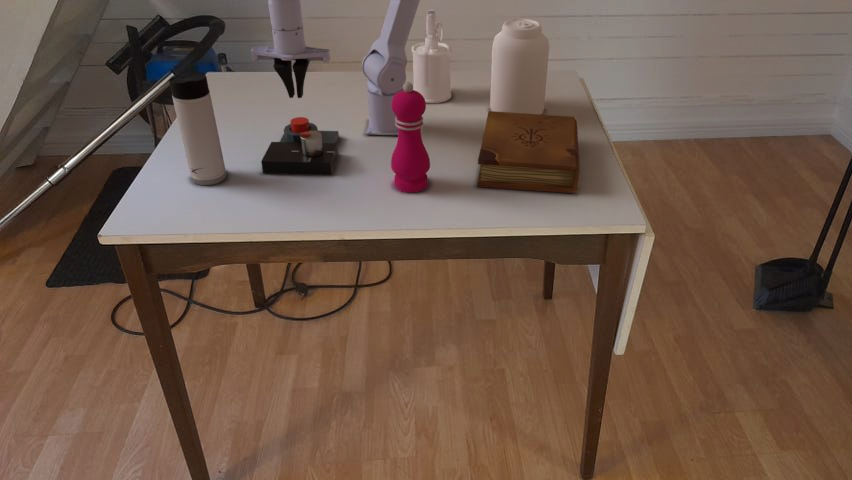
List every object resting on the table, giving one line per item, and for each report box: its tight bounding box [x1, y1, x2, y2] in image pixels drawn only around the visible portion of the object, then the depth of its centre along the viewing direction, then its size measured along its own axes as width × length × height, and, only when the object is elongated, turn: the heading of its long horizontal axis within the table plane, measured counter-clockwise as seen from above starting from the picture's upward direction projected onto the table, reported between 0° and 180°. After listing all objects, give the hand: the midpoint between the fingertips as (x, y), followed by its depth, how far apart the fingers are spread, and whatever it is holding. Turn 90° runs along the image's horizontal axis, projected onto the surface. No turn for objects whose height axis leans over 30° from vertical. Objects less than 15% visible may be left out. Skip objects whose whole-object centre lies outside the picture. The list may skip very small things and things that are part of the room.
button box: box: [279, 122, 340, 144], centre depth 145 cm, size 11×7×4 cm, turn 91°
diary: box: [476, 110, 580, 194], centre depth 140 cm, size 23×19×6 cm
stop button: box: [290, 116, 310, 133], centre depth 143 cm, size 4×4×2 cm
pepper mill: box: [390, 81, 431, 194], centre depth 127 cm, size 7×7×20 cm
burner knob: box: [300, 130, 323, 157], centre depth 136 cm, size 4×4×4 cm
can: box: [489, 18, 550, 115], centre depth 157 cm, size 12×12×20 cm
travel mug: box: [168, 73, 227, 186], centre depth 127 cm, size 6×7×20 cm
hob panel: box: [260, 141, 339, 176], centre depth 138 cm, size 13×8×3 cm, turn 91°
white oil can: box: [410, 8, 453, 104], centre depth 162 cm, size 10×9×20 cm
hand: (296, 96), depth 139 cm, fingers closed
